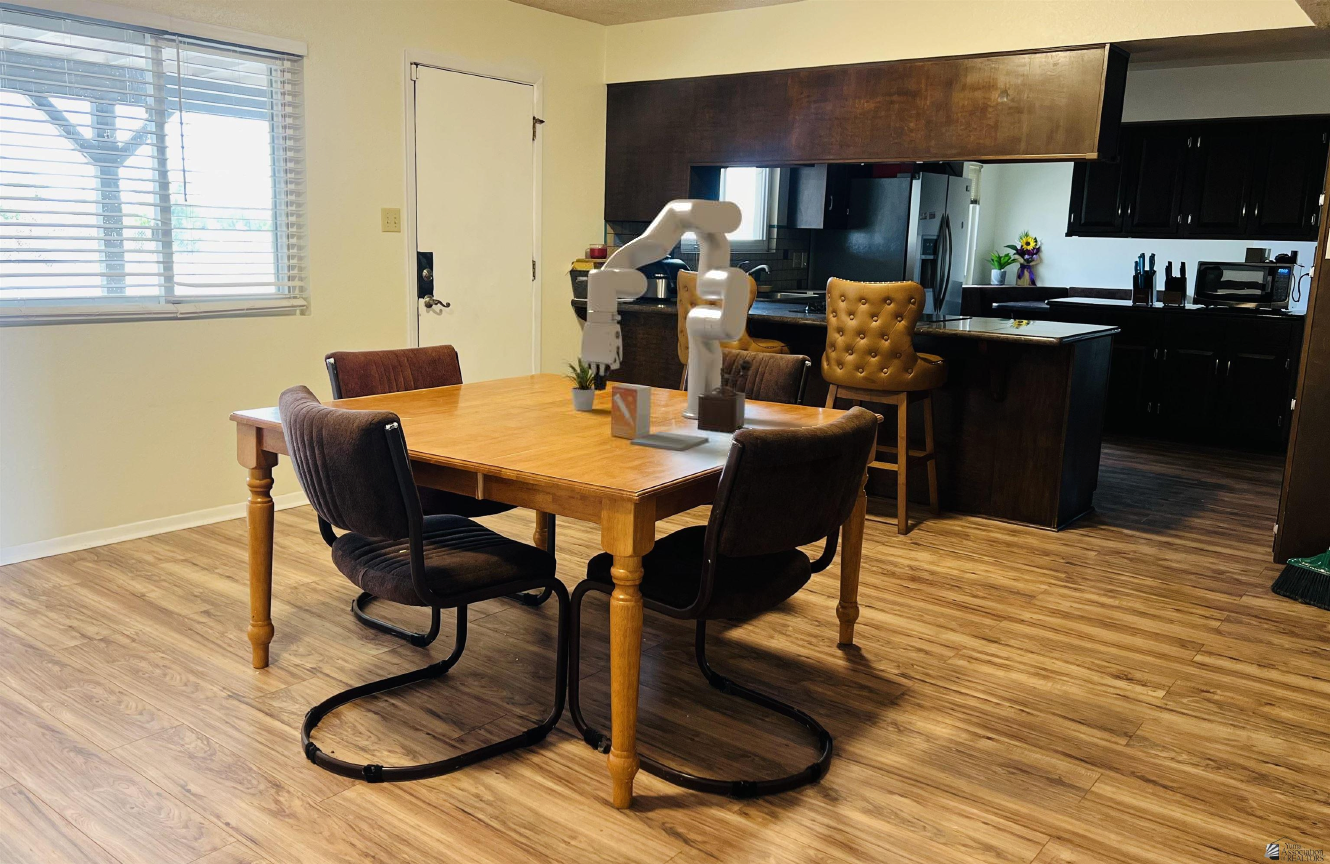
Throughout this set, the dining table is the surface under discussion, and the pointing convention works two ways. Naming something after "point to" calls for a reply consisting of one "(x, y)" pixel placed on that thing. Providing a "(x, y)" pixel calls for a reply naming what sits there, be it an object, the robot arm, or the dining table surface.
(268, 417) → the dining table surface
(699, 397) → the manual coffee grinder
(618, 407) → the small box
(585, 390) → the house plant
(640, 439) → the mat
